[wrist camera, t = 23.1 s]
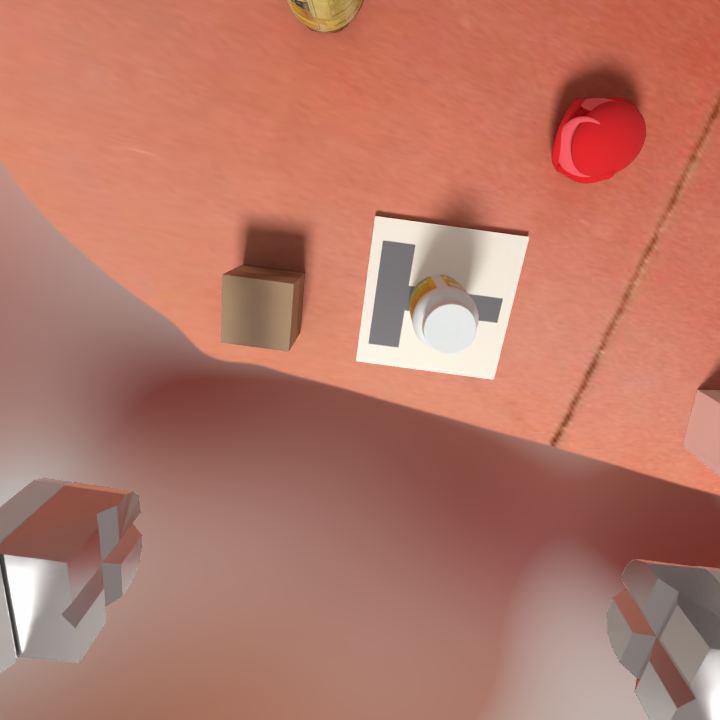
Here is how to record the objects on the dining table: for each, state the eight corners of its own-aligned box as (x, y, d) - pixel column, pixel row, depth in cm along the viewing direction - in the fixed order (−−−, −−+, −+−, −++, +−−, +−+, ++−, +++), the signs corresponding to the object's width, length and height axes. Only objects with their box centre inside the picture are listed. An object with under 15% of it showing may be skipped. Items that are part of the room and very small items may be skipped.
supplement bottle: (463, 270, 42) (486, 290, 33) (465, 326, 44) (488, 359, 35) (405, 277, 42) (412, 298, 33) (410, 331, 44) (417, 366, 35)
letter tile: (527, 236, 41) (529, 237, 41) (492, 377, 46) (493, 379, 45) (375, 215, 41) (375, 216, 40) (356, 359, 46) (355, 361, 45)
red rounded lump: (532, 178, 37) (607, 201, 34) (561, 94, 33) (647, 113, 30) (563, 162, 42) (630, 181, 39) (591, 88, 38) (667, 104, 35)
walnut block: (305, 272, 43) (293, 283, 38) (300, 332, 45) (288, 351, 40) (243, 264, 43) (222, 274, 38) (240, 324, 45) (221, 342, 40)
